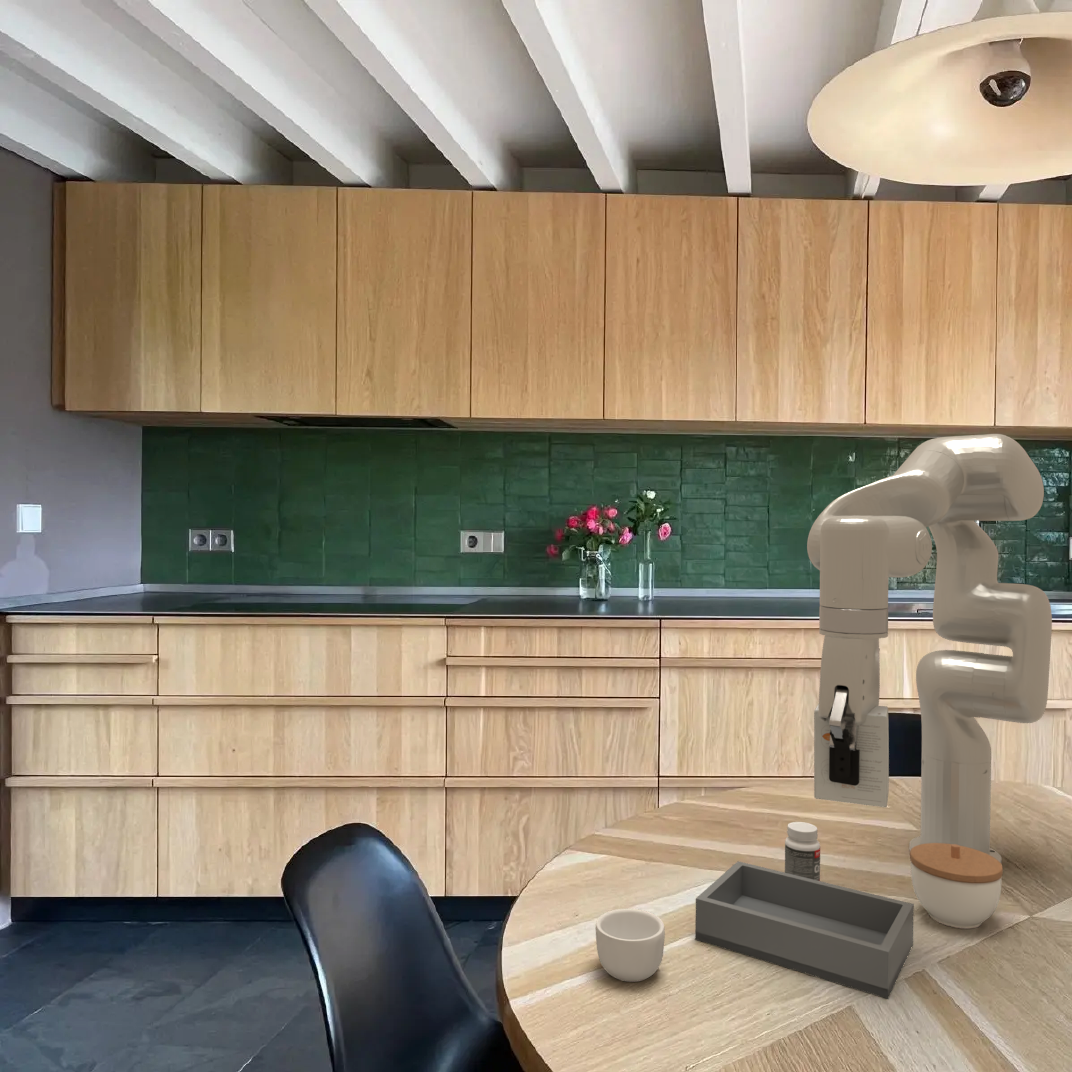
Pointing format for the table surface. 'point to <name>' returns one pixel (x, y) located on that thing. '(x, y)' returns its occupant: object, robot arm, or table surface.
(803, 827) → the pill bottle
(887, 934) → the tote
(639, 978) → the teacup
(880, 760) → the small box
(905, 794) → the table surface
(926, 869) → the lidded jar
